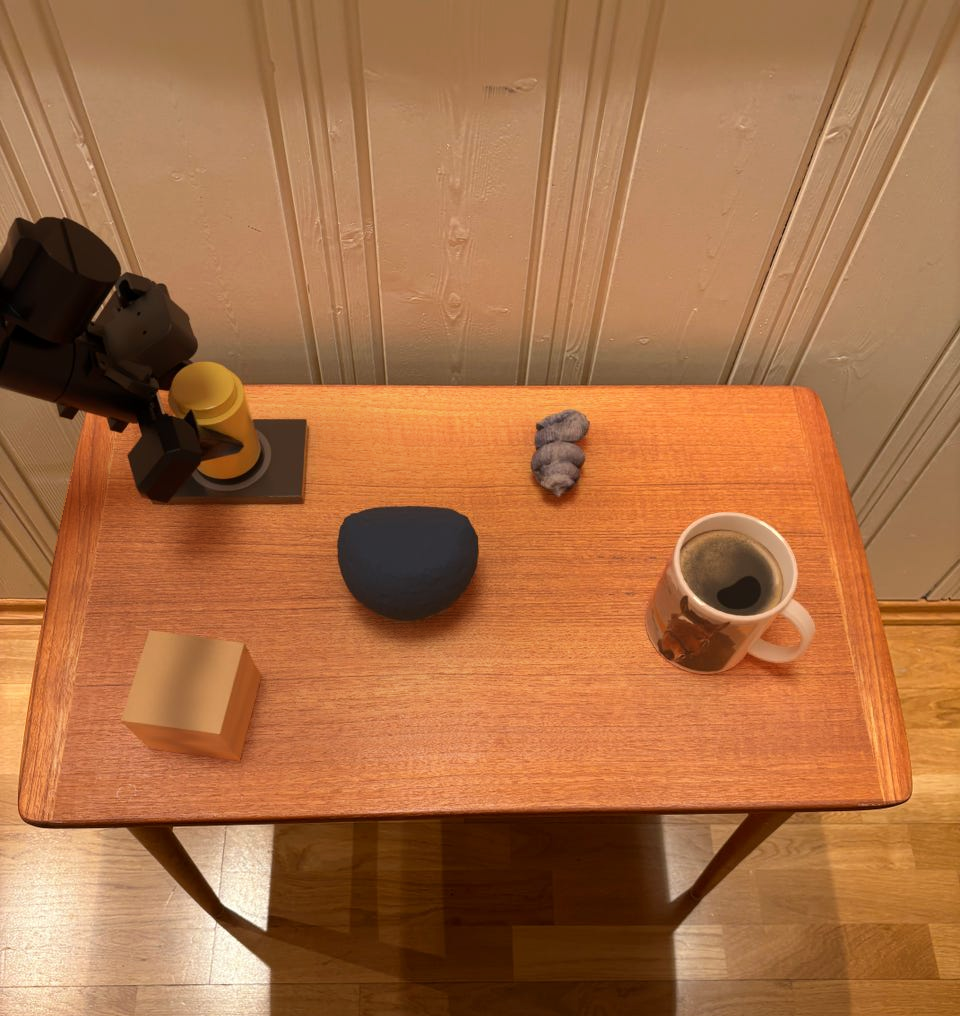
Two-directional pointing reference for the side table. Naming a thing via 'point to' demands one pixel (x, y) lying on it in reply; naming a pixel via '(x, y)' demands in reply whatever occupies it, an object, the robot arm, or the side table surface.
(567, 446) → the seashell
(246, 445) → the jar
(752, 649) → the mug
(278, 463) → the hob
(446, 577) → the decorative stone
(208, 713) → the cube
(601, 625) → the side table surface
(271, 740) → the side table surface
